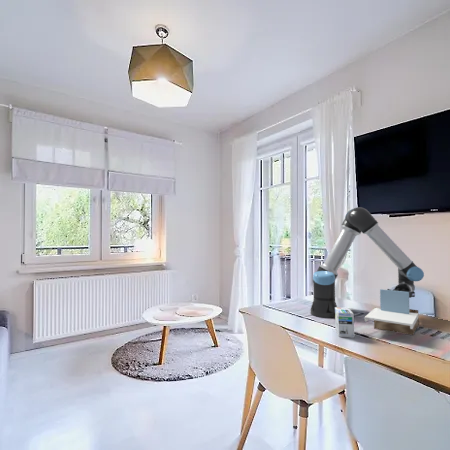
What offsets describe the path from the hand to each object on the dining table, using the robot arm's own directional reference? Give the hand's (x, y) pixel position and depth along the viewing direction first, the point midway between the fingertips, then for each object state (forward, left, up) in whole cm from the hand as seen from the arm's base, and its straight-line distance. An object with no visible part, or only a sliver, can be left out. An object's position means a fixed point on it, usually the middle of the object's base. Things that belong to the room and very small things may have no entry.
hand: (394, 298), depth 148 cm
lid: (0, -9, -8) cm, 12 cm away
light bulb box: (-17, -23, -14) cm, 32 cm away
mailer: (0, +3, -14) cm, 14 cm away
